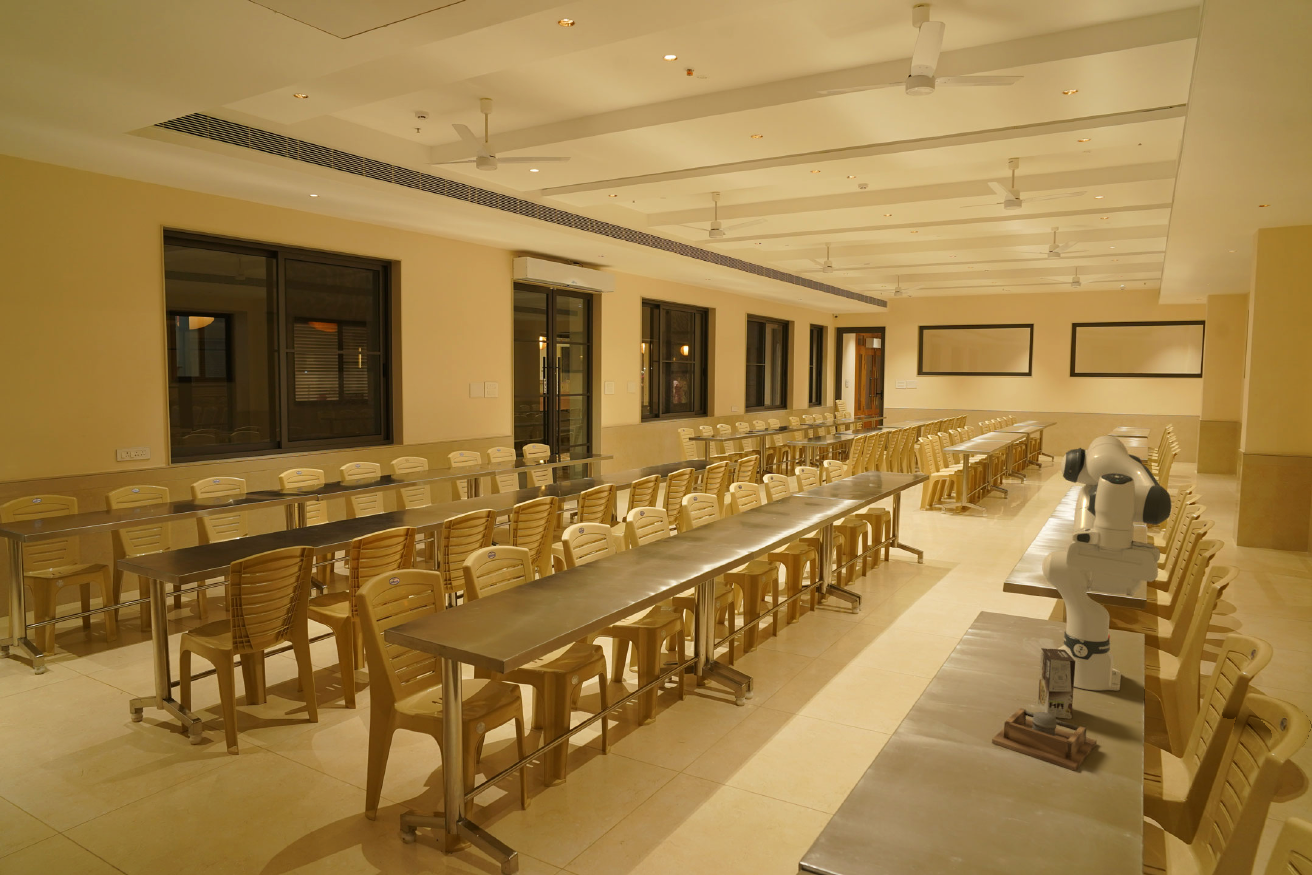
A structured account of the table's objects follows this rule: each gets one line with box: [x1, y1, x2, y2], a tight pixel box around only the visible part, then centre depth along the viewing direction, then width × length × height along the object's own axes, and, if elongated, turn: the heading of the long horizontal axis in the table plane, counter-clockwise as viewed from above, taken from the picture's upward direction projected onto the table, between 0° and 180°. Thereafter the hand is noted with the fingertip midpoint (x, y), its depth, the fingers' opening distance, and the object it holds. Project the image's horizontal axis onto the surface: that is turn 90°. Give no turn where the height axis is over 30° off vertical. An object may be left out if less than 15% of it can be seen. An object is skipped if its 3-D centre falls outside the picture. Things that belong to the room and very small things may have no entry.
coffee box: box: [1037, 647, 1076, 720], centre depth 210 cm, size 9×6×16 cm
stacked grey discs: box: [1031, 711, 1058, 736], centre depth 192 cm, size 5×5×6 cm
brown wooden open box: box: [991, 708, 1097, 772], centre depth 192 cm, size 18×19×5 cm
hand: (1108, 591), depth 197 cm, fingers open, 8 cm apart
